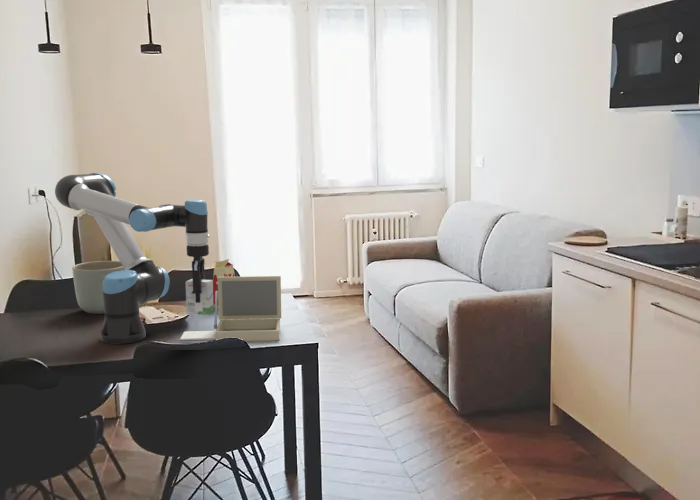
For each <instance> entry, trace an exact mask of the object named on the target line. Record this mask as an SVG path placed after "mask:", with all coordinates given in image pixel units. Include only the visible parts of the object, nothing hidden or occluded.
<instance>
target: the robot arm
mask: <svg viewBox="0 0 700 500" xmlns="http://www.w3.org/2000/svg"><path fill="white" fill-rule="evenodd" d="M116 190H117V187H116V184H115V182H113V179H111V178H110V177H109V176H108V175H106V174H104V173H97V172H96V173H95V172H94V173H93V172H91V173H87V174H70V175H69V174H68V175H66V176H63V177H62V178H60V179H59V181H57V182H56V185H55V188H54V195H55V198H56V200H57V201H58V203H60V204H61V205H62V206H63V207H66V208H69V209H71V210H74V211H81V210H83V211H85V213H86V214H87V215H88V216H91V217H92V216H93V218H94V219H95V221H96V223H97V225H98V227H99V228H100V230H101V232H102V233H103V235H104V237H105V238H106V241H108V243H109V245H110V246H111V249H112V251H113V252H114V254H115V255H116V257H117V258H118V260H119V261H120V262H121V264H122V266H123V267H124V269H125V270H121V271H116V272H112V273H110V274H108V275H106V276H105V277H104V279H103V287H102V290H103V300H104V314H103V315H104V320H103V323H102V327H101V330H100V337H99V338H100V341H101V343H102V342H103V343H104V344H109V345H125V344H129V343H135V342H139V341H142V340H143V339H145V338H146V336H147V335H146V328H145V326H144V323H143V320H142V319H141V318H142V317H141V316H140V305H142V304H146V303H149V302H152V301H156V300H158V299H160V298H162V297H164V296H165V295H166V294H167V293H168V291H169V288H170V282H171V281H170V277H169V274H168V272H167V270H166V269H165V268H163V267H161V266H157V265H155V262H154V261H153V259H151V258H148V257H146V255H145V254H144V252H143V250H142V249H141V247H140V246H139V244H138V242H137V240H136V239H135V237H134V236H133V235H134V234H132V232H131V229H129V227H128V226H127V225H129V226H130V227H131V228H132V229H133V231H135V232H139V233H141V232H143V233H147V232H150V231H155V230H160V229H166V228H172V227H184V228H185V243H186V256H188V257H190V258H191V257H192V258H193V260H192V261H191V271H192V279H193V292H192V294H194V306H195V312H196V311H203V301H202V293H201V292H202V291H201V279H204V280H206V276H205V275H206V274H205V264H206V263H205V258H204V257H207V256H208V255H209V254H210V250H209V249H210V248H209V244H208V243H209V238H210V237H211V235H210V234H208V233H209V232H208V231H209V230H208V213H209V212H208V206H207V205H208V204H207V202H206V201H205V200H204V199H186V200H185V202H184V204H183V205H181V204H180V205H179V204H170V203H169V204H160V205H158V206H154V207H153V206H152V207H149V206H144V205H141V204H139V203H135V202H132V201H129V200H126V199H122V198H119V197H116V196H117V191H116Z"/></svg>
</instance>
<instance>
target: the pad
mask: <svg viewBox="0 0 700 500" xmlns="http://www.w3.org/2000/svg"><path fill="white" fill-rule="evenodd" d="M215 332H216V330H199V331H197V330H195V331H183V333H182V335H181V337H179V338H180V339H179V341H209V340H210V341H214V340H215V339H216V338H215ZM215 341H216V340H215Z"/></svg>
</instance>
